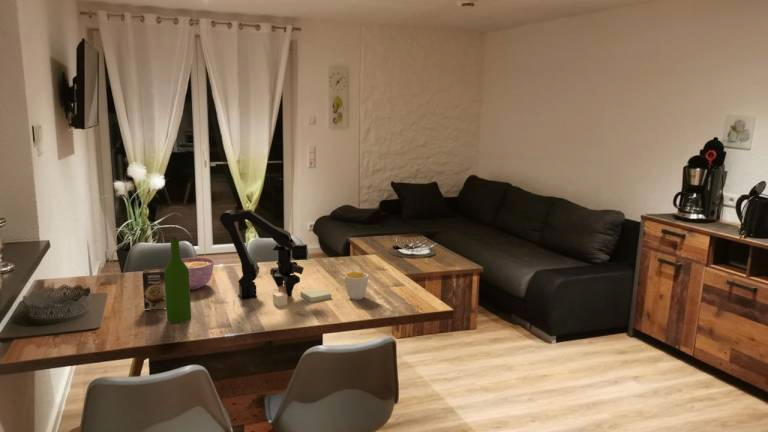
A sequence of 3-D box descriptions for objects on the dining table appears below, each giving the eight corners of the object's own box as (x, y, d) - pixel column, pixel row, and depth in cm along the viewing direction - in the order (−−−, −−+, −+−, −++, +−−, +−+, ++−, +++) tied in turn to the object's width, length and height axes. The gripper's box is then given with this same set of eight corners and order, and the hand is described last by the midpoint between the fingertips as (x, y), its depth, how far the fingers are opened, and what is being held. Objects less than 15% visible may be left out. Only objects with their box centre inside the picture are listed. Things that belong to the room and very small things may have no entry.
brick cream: (277, 306, 246) (277, 296, 245) (273, 303, 250) (272, 293, 249) (287, 304, 248) (287, 294, 248) (282, 301, 252) (282, 291, 251)
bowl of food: (221, 281, 280) (220, 258, 278) (205, 294, 261) (203, 269, 259) (181, 280, 282) (180, 256, 280) (162, 292, 263) (160, 267, 261)
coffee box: (144, 311, 239) (141, 273, 236) (146, 306, 245) (143, 268, 242) (167, 309, 241) (165, 271, 238) (169, 304, 247) (166, 267, 244)
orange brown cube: (282, 299, 256) (282, 289, 255) (278, 296, 259) (278, 286, 259) (292, 297, 258) (291, 287, 257) (287, 294, 262) (287, 284, 261)
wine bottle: (183, 314, 236) (178, 235, 230) (195, 319, 230) (191, 238, 224) (162, 320, 229) (157, 238, 223) (175, 325, 223) (170, 242, 217)
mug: (371, 300, 255) (371, 276, 253) (349, 302, 251) (349, 279, 249) (361, 291, 267) (361, 268, 266) (339, 293, 264) (339, 271, 262)
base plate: (310, 302, 252) (310, 297, 251) (300, 296, 260) (300, 291, 259) (331, 298, 257) (331, 293, 257) (320, 292, 265) (320, 288, 265)
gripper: (310, 261, 253) (311, 296, 255) (292, 253, 268) (292, 285, 271) (286, 265, 246) (287, 301, 249) (269, 256, 262) (270, 289, 264)
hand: (285, 294), depth 259 cm, fingers open, 8 cm apart
